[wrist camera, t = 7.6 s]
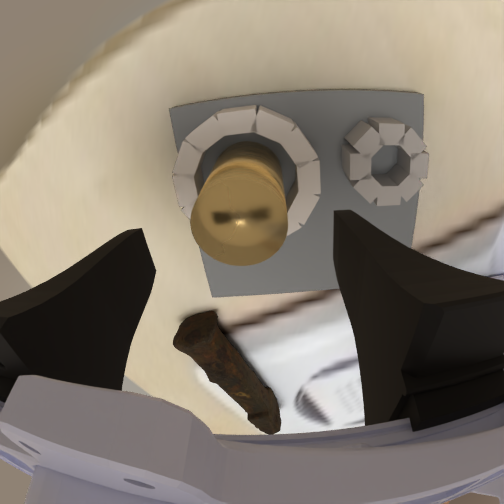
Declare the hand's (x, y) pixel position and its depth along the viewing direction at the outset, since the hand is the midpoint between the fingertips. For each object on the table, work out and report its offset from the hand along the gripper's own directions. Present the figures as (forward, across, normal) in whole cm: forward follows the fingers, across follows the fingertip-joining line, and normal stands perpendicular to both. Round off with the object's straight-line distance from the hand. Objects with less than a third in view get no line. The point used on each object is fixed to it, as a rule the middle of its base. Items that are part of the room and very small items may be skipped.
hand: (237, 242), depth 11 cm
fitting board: (+9, -4, +2) cm, 10 cm away
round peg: (+8, 0, 0) cm, 8 cm away
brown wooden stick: (+9, +3, +21) cm, 23 cm away
